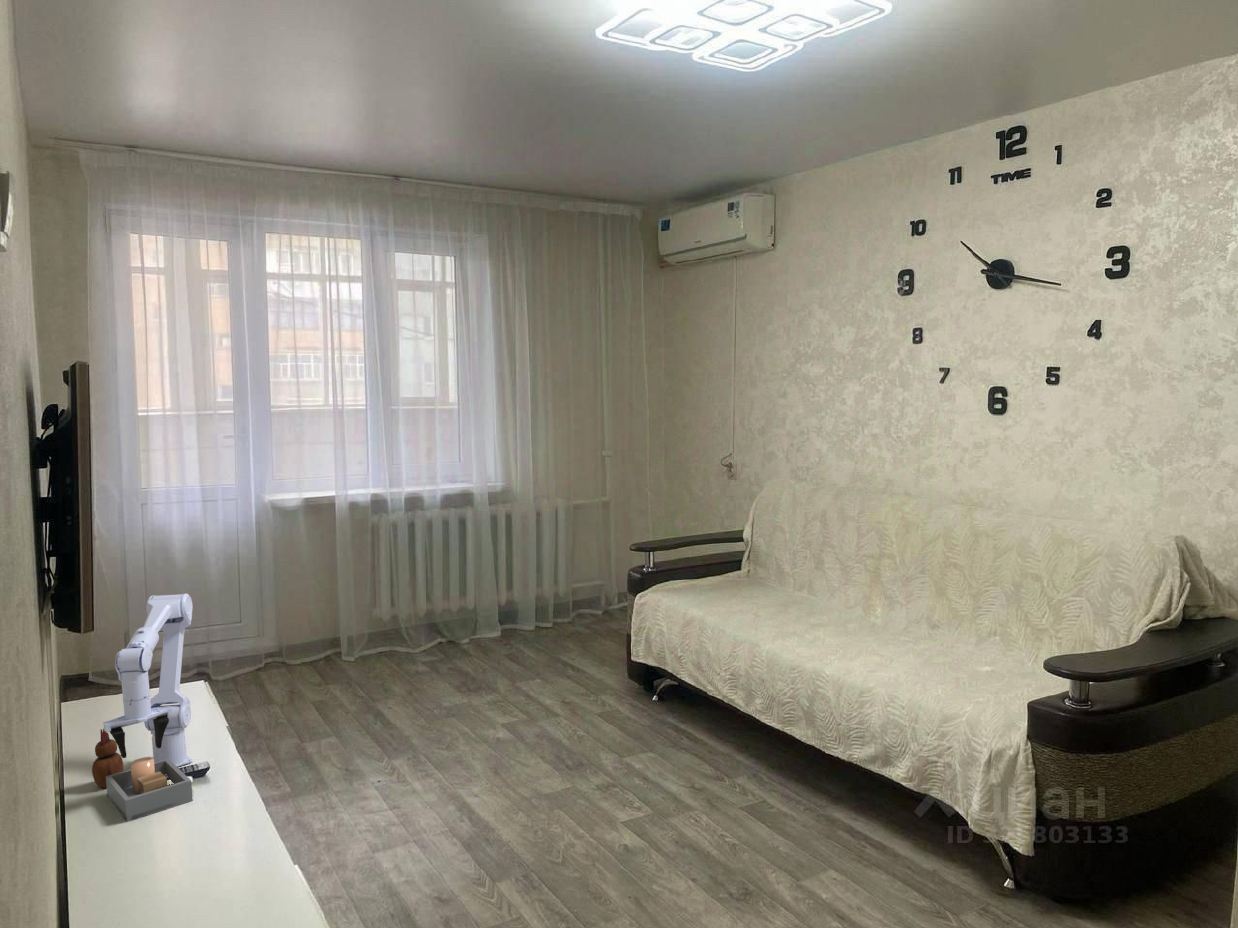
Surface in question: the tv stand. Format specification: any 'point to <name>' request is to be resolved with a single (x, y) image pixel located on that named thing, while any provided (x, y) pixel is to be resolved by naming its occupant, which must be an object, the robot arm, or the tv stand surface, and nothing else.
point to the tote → (150, 801)
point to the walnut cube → (151, 782)
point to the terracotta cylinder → (141, 770)
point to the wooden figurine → (106, 760)
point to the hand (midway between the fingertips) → (141, 751)
